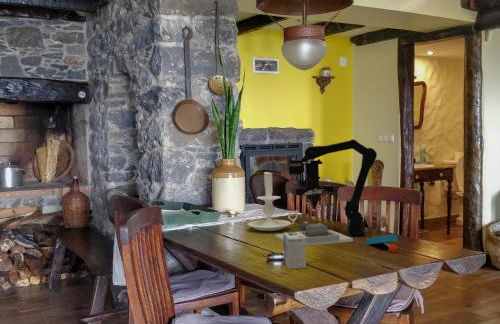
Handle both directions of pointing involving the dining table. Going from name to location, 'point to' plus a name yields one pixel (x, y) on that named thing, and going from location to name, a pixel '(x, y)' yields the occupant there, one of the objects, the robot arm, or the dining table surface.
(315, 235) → the block
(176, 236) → the dining table surface
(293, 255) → the light bulb box
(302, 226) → the wheel
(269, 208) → the candlestick
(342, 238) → the chassis
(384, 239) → the lever
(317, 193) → the robot arm
